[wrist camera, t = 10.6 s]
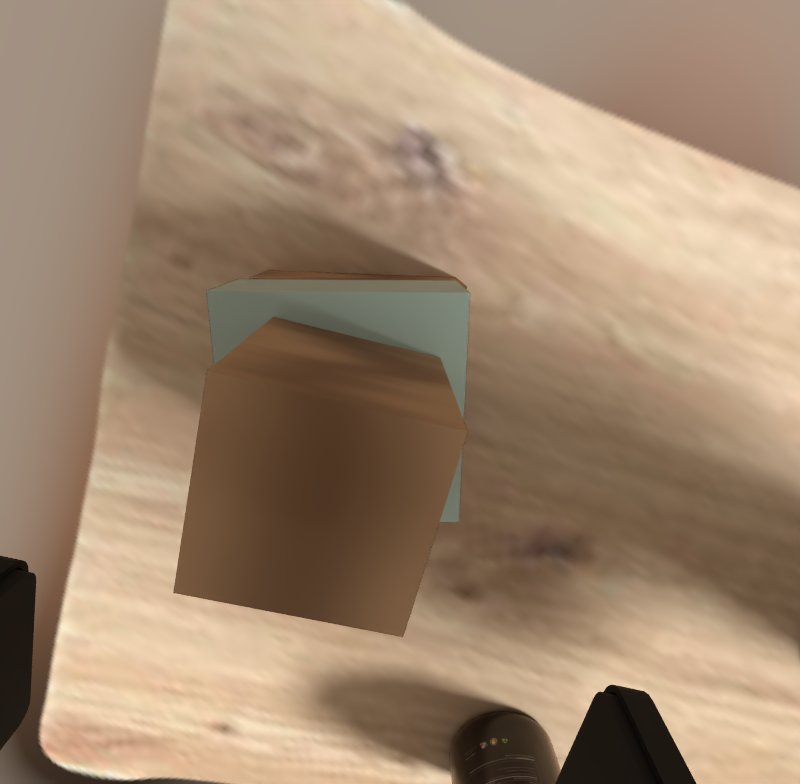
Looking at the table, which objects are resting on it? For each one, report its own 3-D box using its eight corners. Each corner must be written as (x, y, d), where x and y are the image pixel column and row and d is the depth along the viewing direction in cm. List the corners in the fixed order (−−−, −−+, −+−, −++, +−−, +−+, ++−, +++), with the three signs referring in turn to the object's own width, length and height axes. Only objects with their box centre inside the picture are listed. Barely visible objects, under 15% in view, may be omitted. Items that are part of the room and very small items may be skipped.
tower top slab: (455, 280, 22) (469, 292, 18) (448, 475, 25) (458, 521, 21) (238, 279, 22) (206, 290, 18) (254, 476, 24) (230, 522, 21)
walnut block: (440, 357, 19) (468, 431, 12) (398, 503, 21) (403, 636, 14) (273, 316, 18) (207, 371, 12) (245, 469, 20) (173, 592, 13)
